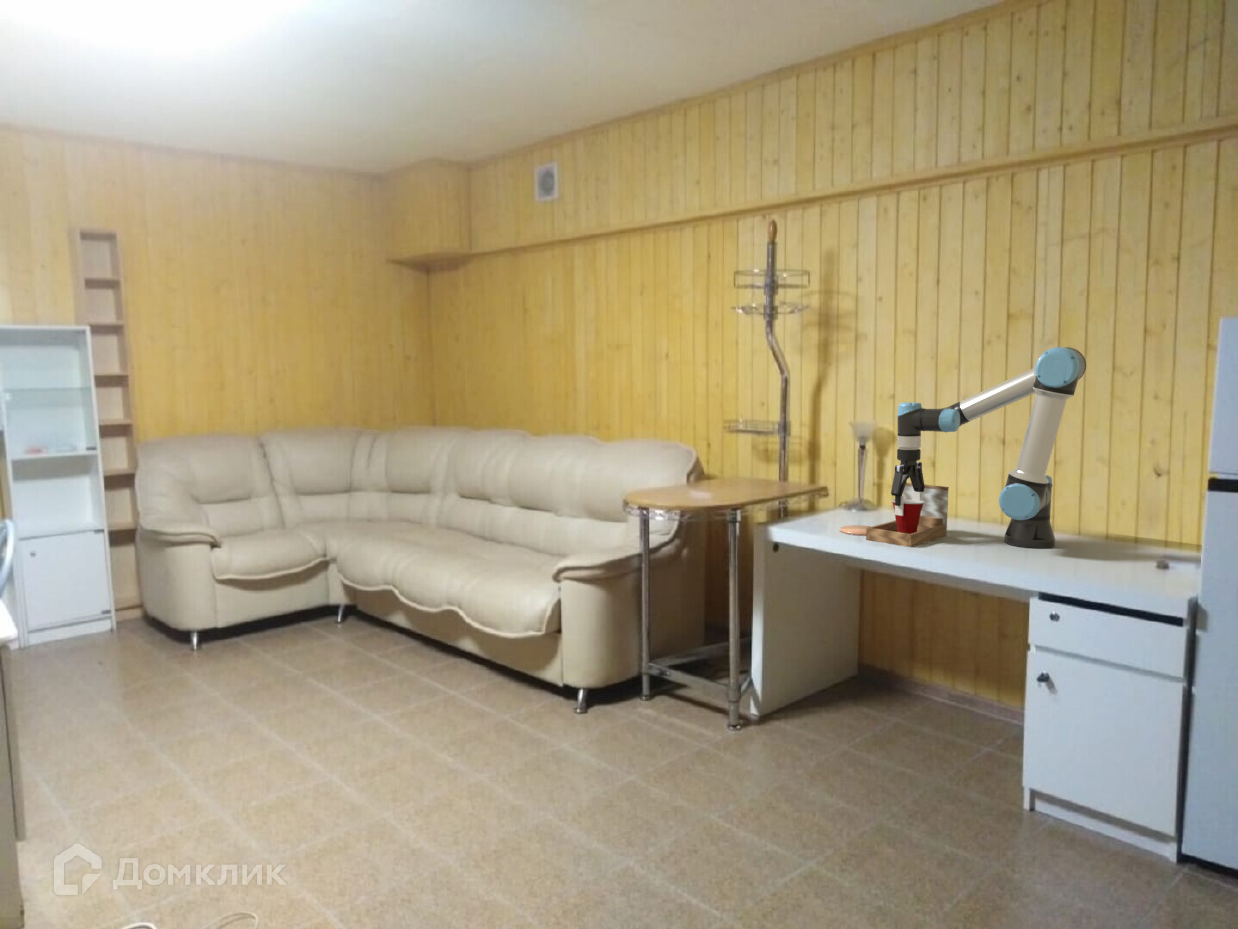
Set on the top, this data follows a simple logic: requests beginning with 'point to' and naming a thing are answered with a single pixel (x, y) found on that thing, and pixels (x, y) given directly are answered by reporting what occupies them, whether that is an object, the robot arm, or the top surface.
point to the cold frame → (929, 522)
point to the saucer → (854, 530)
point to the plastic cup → (909, 516)
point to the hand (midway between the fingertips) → (907, 512)
